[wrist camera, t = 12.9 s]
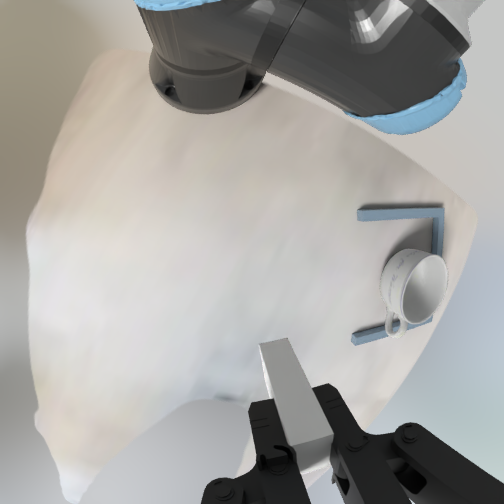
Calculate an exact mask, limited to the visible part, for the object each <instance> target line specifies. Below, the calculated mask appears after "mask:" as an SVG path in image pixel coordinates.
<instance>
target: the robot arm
mask: <svg viewBox="0 0 504 504" xmlns="http://www.w3.org/2000/svg"><path fill="white" fill-rule="evenodd" d="M134 1H135V3H136V4H137V7H138V10H139V12H140V14H141V17H142V19H143V22H144V24H145V26H146V29H147V31H148V34H149V36H150V38H151V41H152V43H153V49H152V52H151V56H150V61H149V72H150V77H151V80H152V82H153V84H154V86H155V88H156V90H157V92H158V93H159V95H160V96H161V97H162V98H163V99H164V100H165V101H166V102H167V103H169V104H170V105H172V106H173V107H175V108H177V109H180V110H182V111H186V112H190V113H195V114H214V113H220V112H224V111H227V110H230V109H233V108H235V107H237V106H239V105H241V104H242V103H244V102H245V101H247V100H248V99H249V98H250V97H251V96H252V95H253V94H254V93H255V92H256V91H257V89H258V88H259V86H260V84H261V82H262V80H263V78H264V76H265V74H266V71H267V72H268V73H271V74H273V75H275V76H278V77H280V78H282V79H284V80H287V81H289V82H291V83H293V84H295V85H297V86H299V87H301V88H303V89H305V90H307V91H309V92H311V93H313V94H315V95H317V96H319V97H321V98H322V99H324V100H326V101H328V102H330V103H331V104H333V105H335V106H337V107H338V108H340V109H342V110H343V111H344V112H345V114H347V115H349V116H350V117H353V118H355V119H360V120H362V121H364V122H365V123H367V124H369V125H371V126H372V127H374V128H376V129H378V130H379V131H382V132H384V133H388V134H398V135H399V134H400V135H406V134H412V133H416V132H419V131H422V130H424V129H427V128H429V127H430V126H432V125H434V124H436V123H437V122H439V121H440V120H442V119H443V118H444V117H446V116H447V115H448V114H449V113H450V112H451V111H452V110H453V109H454V108H455V106H456V105H457V104H458V102H459V101H460V99H461V97H462V94H461V91H460V90H462V89H464V88H465V87H466V82H467V75H466V70H465V68H464V65H463V63H462V60H461V59H460V57H461V56H462V54H464V52H465V51H466V50H467V49H468V48H469V47H470V46H471V45H472V42H471V37H470V32H469V28H468V18H469V17H470V16H471V15H472V14H473V12H475V10H476V9H477V8H478V7H479V6H480V5H481V4H482V3H483V2H484V1H485V0H134ZM267 69H268V70H267ZM259 347H260V353H261V359H262V365H263V371H264V377H265V382H266V386H267V389H268V393H269V396H270V399H267V400H263V401H258V402H252V403H251V405H250V408H249V411H248V414H249V419H250V424H251V429H252V434H253V439H254V445H255V450H256V454H257V455H256V464H255V466H254V467H253V469H252V470H250V471H249V472H248V473H246V474H244V475H242V476H239V477H237V478H235V479H231V478H218V479H215V480H213V481H211V482H210V483H209V484H207V486H206V488H205V490H204V494H203V497H202V501H201V504H311V502H310V499H309V496H308V493H307V491H306V488H305V485H304V482H303V479H302V476H301V475H302V474H306V473H310V472H313V471H317V470H320V469H323V468H327V467H329V465H330V463H331V465H332V467H333V476H332V484H333V483H335V482H336V484H337V486H338V488H339V491H340V493H341V496H342V498H343V500H344V503H345V504H412V503H411V501H410V500H409V498H410V499H411V500H412V501H413V502H414V503H415V504H504V484H503V483H502V482H500V481H499V480H497V479H496V478H494V477H493V476H491V475H490V474H488V473H487V472H485V471H484V470H483V469H481V468H479V467H478V466H477V465H475V464H474V463H472V462H471V461H470V460H468V459H467V458H465V457H464V456H462V455H461V454H459V453H458V452H457V451H455V450H454V449H452V448H451V447H450V446H448V445H447V444H446V443H444V442H443V441H441V440H440V439H439V438H437V437H436V436H435V435H433V434H432V433H431V432H429V431H428V430H426V429H425V428H424V427H422V426H421V425H419V424H417V423H411V422H410V423H405V424H403V425H401V426H399V427H398V428H397V429H396V431H395V432H393V433H388V434H381V435H373V434H369V433H366V432H364V431H363V430H362V429H361V428H360V427H359V425H358V424H357V422H356V420H355V419H354V417H353V415H352V413H351V412H350V410H349V408H348V407H347V405H346V404H345V402H344V400H343V398H342V397H341V395H340V393H339V392H338V390H337V389H336V388H335V387H333V386H332V385H330V384H329V383H328V384H324V385H321V386H317V387H314V388H311V386H310V384H309V382H308V380H307V378H306V375H305V373H304V371H303V369H302V367H301V365H300V363H299V361H298V359H297V357H296V355H295V353H294V351H293V349H292V346H291V344H290V342H289V340H288V338H285V339H280V340H276V341H271V342H266V343H261V344H259Z"/></svg>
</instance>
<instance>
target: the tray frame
mask: <svg viewBox="0 0 504 504" xmlns="http://www.w3.org/2000/svg"><path fill="white" fill-rule="evenodd" d="M357 216H358V220H359V221H378V220H394V219H411V218H430V217H433V237H432V252H431V254H436V255H439V256H440V257H442V248H443V233H444V208H440V207H427V208H390V209H365V210H357ZM432 318H433V315H432V316H431V317H430V318H429V319H428V320H426V321H425V322H423V323H420V324H410V323H408V327H407V330H409V329H412V328H415V327H418V326H421V325H424V324H426V323H429V322H432ZM399 327H400V321H398V322H394V323H392V329H393V331H394V332H396V331H397V330H398V329H399ZM384 337H388V335H387V333H386V330H385V325H384V326H380V327H377V328H373V329H369V330H365V331H362V332H358V333H354V334H352V339H351V342H352V343H353V344H354V345H355V346H356V345H360V344H364V343H367V342H371V341H374V340H378V339H381V338H384Z"/></svg>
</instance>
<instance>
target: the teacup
mask: <svg viewBox="0 0 504 504" xmlns="http://www.w3.org/2000/svg"><path fill="white" fill-rule="evenodd" d="M447 285H448V269H447V265H446V263H445V261H444V259H443V258H442V257H440V256H439V255H436V254H431V253H428V252H425V251H421V250H417V249H404V250H401V251H399V252H398V253H396V254H395V255H394V256H393V257H392V258H391V259H390V260H389V261H388V263H387V264H386V266H385V268H384V271H383V273H382V276H381V281H380V292H381V296H382V299H383V301H384V303H385V304H386V305H387V307H386V310H387V315H386V321H385V330H386V333H387V335H388V336H390V337H391V338H400V337H402V336H403V335H404V334H405V332H406V330H407V327H408V323H410V324H420V323H423V322H425V321H426V320H428V319H429V318H430V317H431V316H432V315H433V314H434V313H435V312H436V310H437V309H438V308H439V306H440V304H441V303H442V301H443V298H444V296H445V293H446V289H447ZM394 313H396V314H397V315H398V318H399V320H400V327H399V329H398V330H397V331H396V332H394V331H393V329H392V322H393V316H394Z"/></svg>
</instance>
